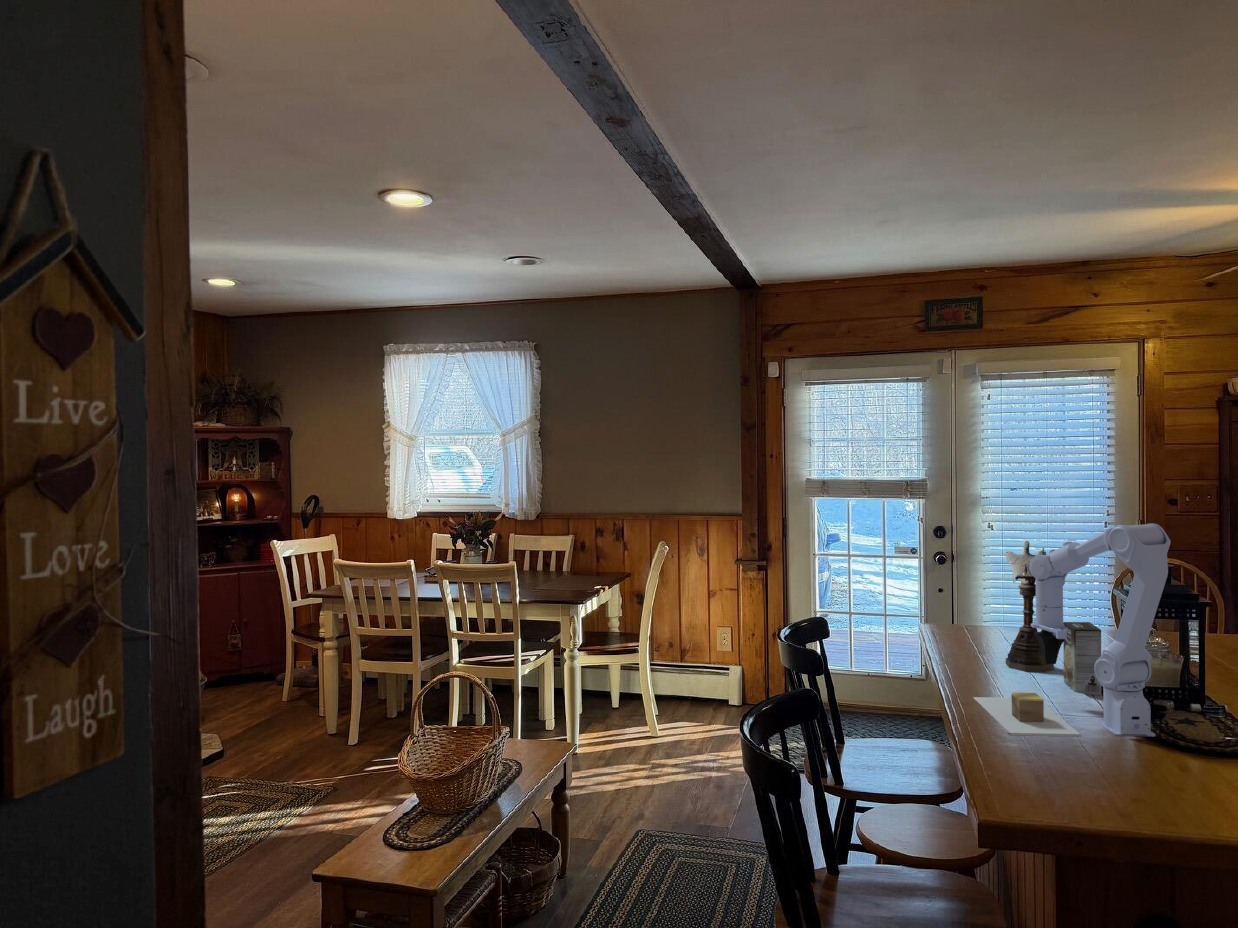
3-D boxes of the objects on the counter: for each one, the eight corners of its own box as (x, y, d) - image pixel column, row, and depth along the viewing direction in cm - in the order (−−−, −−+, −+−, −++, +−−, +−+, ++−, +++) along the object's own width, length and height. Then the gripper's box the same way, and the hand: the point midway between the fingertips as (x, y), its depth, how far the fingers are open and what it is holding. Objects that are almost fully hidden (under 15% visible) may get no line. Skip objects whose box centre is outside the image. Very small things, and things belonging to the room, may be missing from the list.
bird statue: (1071, 677, 221) (1069, 543, 221) (1017, 675, 224) (1015, 543, 223) (1052, 662, 237) (1050, 537, 237) (1002, 660, 240) (1000, 537, 240)
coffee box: (1062, 684, 215) (1062, 621, 215) (1090, 685, 214) (1089, 621, 214) (1074, 694, 206) (1073, 628, 206) (1103, 695, 205) (1102, 629, 205)
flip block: (1035, 692, 189) (1035, 715, 189) (1011, 692, 190) (1011, 714, 190) (1043, 699, 184) (1043, 722, 184) (1019, 698, 185) (1019, 721, 185)
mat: (1080, 736, 176) (1080, 733, 176) (1010, 735, 178) (1010, 732, 178) (1034, 700, 202) (1034, 697, 202) (972, 699, 204) (972, 697, 204)
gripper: (1020, 600, 207) (1021, 655, 207) (1043, 611, 193) (1044, 670, 193) (1050, 600, 206) (1051, 655, 206) (1076, 611, 192) (1076, 671, 192)
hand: (1050, 663), depth 200 cm, fingers closed
